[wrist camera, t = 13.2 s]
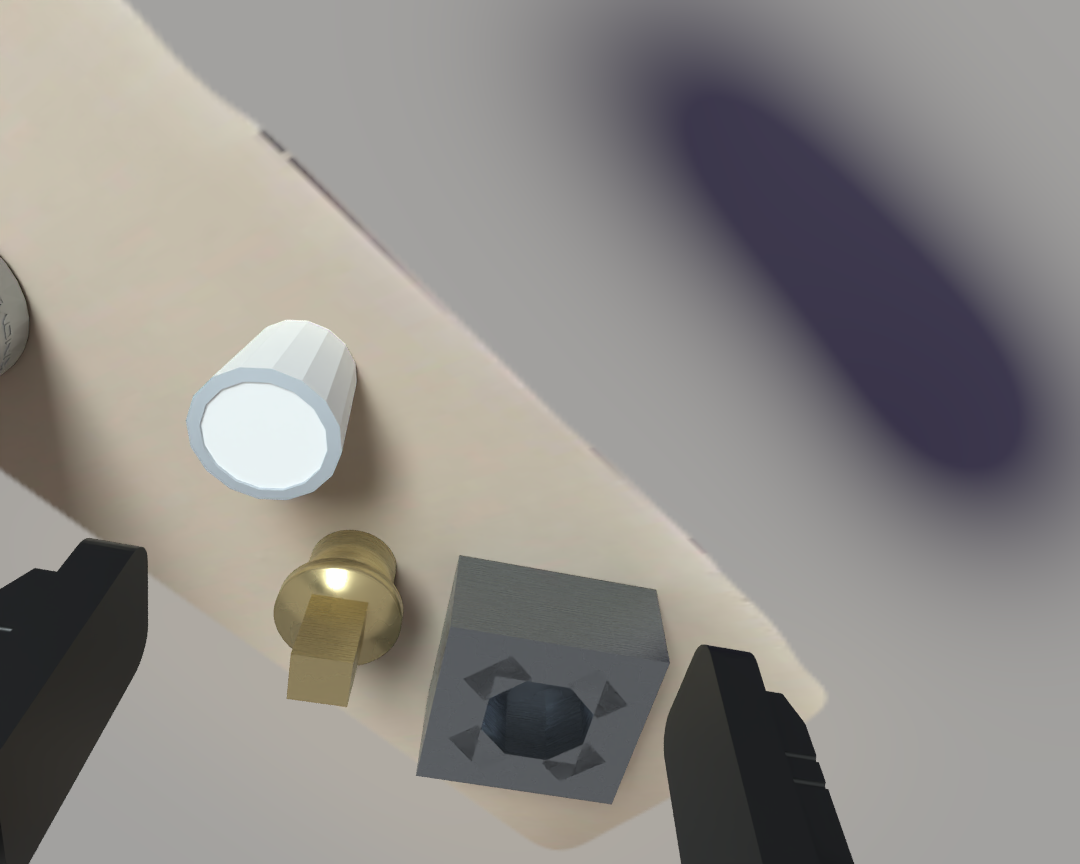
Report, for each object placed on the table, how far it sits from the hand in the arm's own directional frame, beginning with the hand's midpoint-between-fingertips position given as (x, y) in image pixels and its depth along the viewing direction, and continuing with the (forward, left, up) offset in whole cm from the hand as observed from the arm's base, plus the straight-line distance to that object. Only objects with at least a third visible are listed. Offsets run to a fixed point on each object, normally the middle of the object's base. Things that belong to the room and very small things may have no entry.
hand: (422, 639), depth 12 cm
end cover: (-4, -24, -30) cm, 39 cm away
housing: (+8, -28, -30) cm, 42 cm away
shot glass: (-8, -12, -30) cm, 34 cm away
